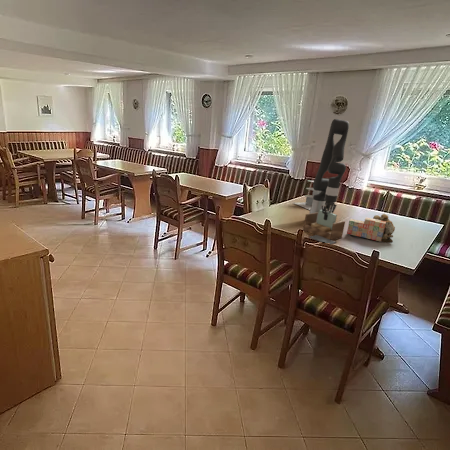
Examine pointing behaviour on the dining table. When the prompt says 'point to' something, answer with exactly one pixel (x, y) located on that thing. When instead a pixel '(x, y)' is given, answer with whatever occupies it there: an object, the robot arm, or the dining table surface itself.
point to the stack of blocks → (367, 228)
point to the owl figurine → (386, 228)
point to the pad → (322, 239)
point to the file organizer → (308, 199)
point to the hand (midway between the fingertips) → (326, 219)
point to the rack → (335, 232)
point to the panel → (329, 221)
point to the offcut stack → (321, 227)
